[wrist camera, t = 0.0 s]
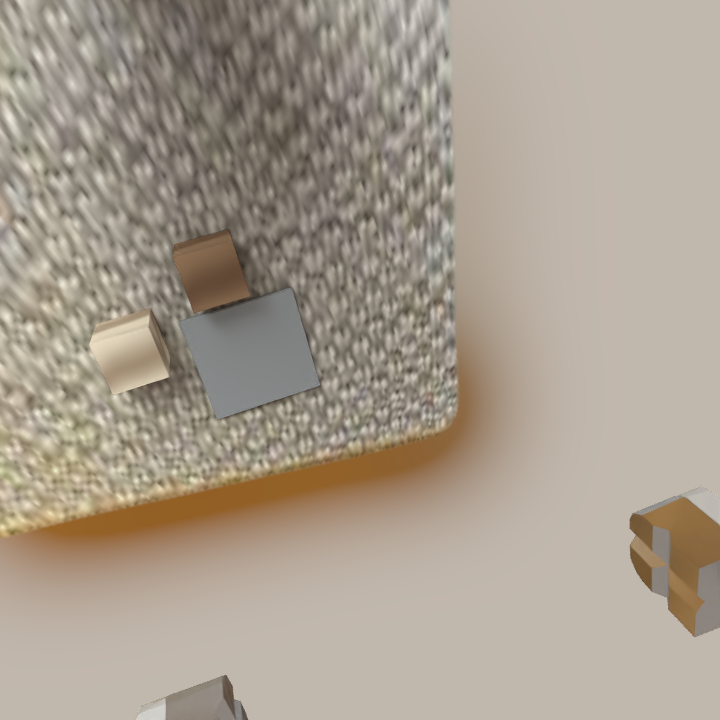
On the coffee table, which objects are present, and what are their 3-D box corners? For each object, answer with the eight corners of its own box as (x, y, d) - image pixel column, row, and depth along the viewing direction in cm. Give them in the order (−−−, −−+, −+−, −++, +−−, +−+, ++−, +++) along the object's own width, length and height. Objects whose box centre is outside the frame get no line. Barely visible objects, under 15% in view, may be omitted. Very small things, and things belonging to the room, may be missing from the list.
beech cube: (96, 324, 55) (89, 345, 50) (150, 307, 56) (148, 327, 51) (118, 370, 57) (113, 394, 53) (169, 354, 58) (169, 377, 54)
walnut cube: (173, 244, 54) (173, 258, 49) (228, 228, 55) (232, 241, 50) (192, 295, 56) (194, 313, 52) (244, 279, 57) (250, 296, 52)
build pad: (179, 321, 57) (179, 323, 56) (291, 287, 58) (292, 288, 58) (217, 416, 62) (217, 419, 61) (318, 382, 63) (320, 385, 63)
